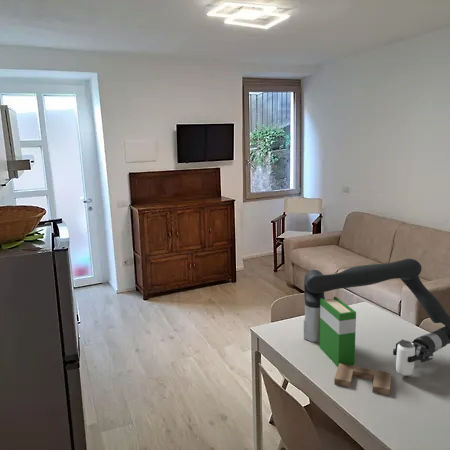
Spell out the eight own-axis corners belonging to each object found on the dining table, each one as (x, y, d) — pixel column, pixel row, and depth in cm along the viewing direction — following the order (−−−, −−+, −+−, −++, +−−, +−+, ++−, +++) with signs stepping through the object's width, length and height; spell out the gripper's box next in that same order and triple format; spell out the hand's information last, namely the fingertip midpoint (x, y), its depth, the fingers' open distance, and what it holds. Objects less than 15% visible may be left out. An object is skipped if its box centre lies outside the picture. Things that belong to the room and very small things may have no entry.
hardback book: (319, 347, 187) (320, 298, 182) (334, 345, 188) (335, 296, 183) (338, 367, 170) (339, 314, 165) (354, 365, 171) (356, 312, 166)
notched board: (334, 384, 159) (334, 378, 158) (339, 368, 169) (339, 362, 169) (389, 395, 150) (389, 389, 150) (390, 378, 161) (391, 372, 161)
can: (415, 376, 158) (417, 348, 155) (397, 375, 159) (399, 347, 156) (411, 367, 164) (413, 340, 161) (394, 366, 165) (395, 339, 162)
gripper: (412, 329, 172) (386, 340, 164) (445, 343, 160) (418, 355, 152) (411, 345, 174) (385, 357, 165) (443, 360, 162) (417, 373, 153)
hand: (401, 356), depth 159 cm, fingers closed on can, 6 cm apart
